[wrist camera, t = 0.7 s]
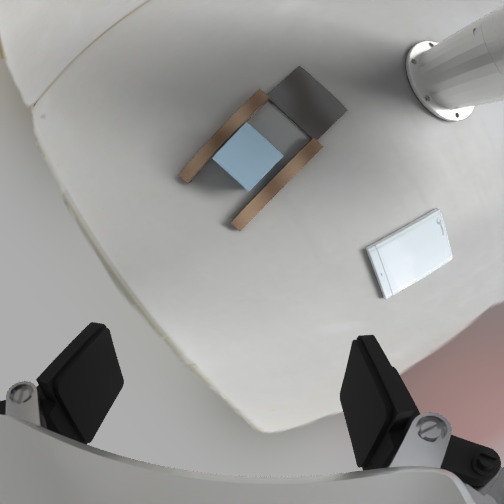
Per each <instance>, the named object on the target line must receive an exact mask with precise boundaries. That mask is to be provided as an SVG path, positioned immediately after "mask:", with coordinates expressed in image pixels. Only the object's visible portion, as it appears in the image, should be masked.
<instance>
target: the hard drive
mask: <svg viewBox="0 0 504 504" xmlns="http://www.w3.org/2000/svg"><path fill="white" fill-rule="evenodd" d="M366 251H367V253H368V256H369V259H370V261H371V264H372V266H373V269H374V272H375V275H376V277H377V280H378V283H379V286H380V288H381V291H382V294H383V297H384V299H388V298H389V297H391V296H393V295H395V294H397V293H398V292H400V291H402V290H404V289H405V288H407V287H409V286H410V285H412V284H414V283H416V282H417V281H419V280H421V279H422V278H424V277H425V276H427V275H429V274H430V273H432V272H433V271H435V270H437V269H438V268H440V267H441V266H443V265H445V264H446V263H448V262H449V261H451V260H452V253H451V248H450V244H449V240H448V236H447V232H446V229H445V225H444V221H443V218H442V214H441V211H440V210H439V209H438V208H436V209H434V210H432V211H431V212H429V213H427V214H425V215H424V216H422V217H420V218H418V219H417V220H415V221H413V222H411V223H410V224H408V225H406V226H404V227H403V228H401V229H399V230H397V231H395V232H394V233H392V234H390V235H388V236H386V237H385V238H383V239H381V240H379V241H377V242H376V243H374V244H372V245H370V246H368V247H366Z"/></svg>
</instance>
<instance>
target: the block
mask: <svg viewBox="0 0 504 504" xmlns="http://www.w3.org/2000/svg"><path fill="white" fill-rule="evenodd" d="M283 156H284V155H283V154H282V153H281V152H279V151H278V150H277V149H276V148H275V147H274V146H273V145H272V144H271V143H270V142H269V141H268V140H266V139H265V138H264V137H263V136H262V135H261V134H260V133H259V132H258V131H256V130H255V129H254V128H253V127H252V126H251V125H250V124H248V123H247V122H246V123H245V124H244V125H243V126H242V127H241V128H240V129H239V130H238V131H237V132H236V133H235V134H234V135H233V136H232V137H231V139H230V140H229V141H228V142H227V143H226V144H225V145H224V146H223V147H222V148H221V149H220V150H219V151H218V152H217V153H216V154H215V156H214V157H213V158H212V159H213V160H214V161H216V162H217V163H218V164H219V165H220V166H221V167H222V168H223V169H224V170H226V171H227V172H228V173H229V174H230V175H231V176H232V177H233V178H234V179H235V180H237V181H238V182H239V183H240V184H241V185H242V186H243V187H244V188H245V189H246V190H247V191H248V192H249V191H250V190H251V189H252V188H253V187H254V186H255V185H256V184H257V183H258V182H259V181H260V180H261V179H262V178H263V177H264V176H265V175H266V174H267V173H268V172H269V171H270V170H271V169H272V167H273V166H274V165H275V164H276V163H277V162H278V161H279V160H280V159H281V158H282V157H283Z"/></svg>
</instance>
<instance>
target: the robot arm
mask: <svg viewBox="0 0 504 504" xmlns="http://www.w3.org/2000/svg"><path fill="white" fill-rule="evenodd" d="M406 70H407V75H408V79H409V82H410V84H411V86H412V89H413V91H414V92H415V94H416V96H417V97H418V99H419V100H420V101H421V103H422V104H423V105H424V106H425V107H426V108H427V109H428V110H429V111H430V112H432V113H433V114H434V115H436V116H437V117H439V118H441V119H444V120H447V121H460V120H463V119H465V118H466V117H468V116H469V115H470V113H471V112H472V110H473V107H474V106H477V105H482V104H487V103H492V102H497V101H503V100H504V5H503V6H501V7H500V8H498V9H496V10H495V11H493V12H491V13H489V14H487V15H485V16H484V17H482V18H481V19H479V20H477V21H475V22H473V23H472V24H470V25H468V26H466V27H465V28H463V29H461V30H460V31H458V32H456V33H455V34H453V35H451V36H450V37H448V38H446V39H445V40H443V41H441V42H440V43H437V42H433V41H422V42H419V43H418V44H416V45H414V46H413V47H412V48H411V49H410V51H409V53H408V55H407V59H406ZM37 382H38V384H39V385H38V386H37V387H36V386H35V385H34V384H33V383H31V382H27V381H24V382H19V383H16V384H14V385H13V386H12V387H11V388H9V390H8V392H7V395H6V400H4V401H0V504H504V467H503V468H502V467H501V461H500V457H499V456H498V454H497V453H496V452H495V451H494V450H493V449H490V448H488V447H485V446H482V445H479V444H476V443H473V442H470V441H467V440H464V439H462V438H458V437H456V436H453V435H451V431H452V429H451V425H450V423H449V421H448V420H447V419H446V418H445V417H443V416H442V415H439V414H437V413H431V412H429V413H423V414H420V413H419V411H418V409H417V407H416V405H415V403H414V401H413V399H412V397H411V395H410V393H409V392H408V390H407V388H406V386H405V384H404V383H403V381H402V379H401V377H400V375H399V373H398V372H397V370H396V369H395V368H394V367H392V366H391V364H390V362H389V361H388V359H387V357H386V355H385V354H384V352H383V350H382V348H381V347H380V345H379V343H378V341H377V340H376V338H375V336H374V335H364V336H358V338H357V340H353V342H352V346H351V350H350V355H349V359H348V363H347V368H346V372H345V376H344V380H343V384H342V387H341V391H340V401H341V405H342V408H343V412H344V416H345V419H346V423H347V427H348V431H349V435H350V438H351V442H352V446H353V450H354V454H355V458H356V462H357V466H358V467H362V468H363V471H356V472H349V473H340V474H330V475H317V476H301V477H247V476H231V475H219V474H209V473H202V472H194V471H187V470H181V469H175V468H170V467H165V466H160V465H156V464H151V463H146V462H142V461H138V460H134V459H131V458H127V457H123V456H120V455H116V454H113V453H110V452H107V451H103V450H100V449H97V448H94V447H92V446H89V445H87V443H90V442H91V441H92V439H93V438H94V436H95V434H96V432H97V430H98V429H99V427H100V425H101V423H102V422H103V420H104V418H105V416H106V415H107V413H108V411H109V409H110V408H111V406H112V404H113V402H114V401H115V399H116V397H117V395H118V394H119V392H120V390H121V389H122V387H123V384H124V380H123V376H122V373H121V370H120V366H119V363H118V360H117V356H116V353H115V349H114V345H113V342H112V338H111V334H110V330H109V329H108V328H106V326H105V325H104V324H100V323H93V322H92V323H90V324H89V325H88V326H87V327H86V328H85V329H84V330H83V331H82V332H81V333H80V334H79V335H78V336H77V337H76V338H75V339H74V340H73V341H72V342H71V343H70V344H69V345H68V346H67V347H66V348H65V349H64V350H63V351H62V353H61V354H59V356H58V357H57V358H56V359H55V360H54V361H53V362H52V363H51V364H50V365H49V366H48V367H47V368H46V369H45V371H44V372H43V373H42V374H41V375H40V376H39V377H38V378H37Z"/></svg>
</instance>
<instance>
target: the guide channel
mask: <svg viewBox="0 0 504 504" xmlns="http://www.w3.org/2000/svg"><path fill="white" fill-rule="evenodd" d="M268 100H270V101H271V102H273V103H274V104H275V105H276V106H277V107H278V108H279V109H281V110H282V111H283V112H284V113H285V114H286V115H287V116H288V117H289V118H291V119H292V120H293V121H294V122H295V123H296V124H297V125H298V126H299V127H300V128H301V129H302V130H303V131H304V132H306V133H307V134H308V135H309V136H310V137H311V138H312V139H311V140H310V141H309V142H308V143H307V144H306V145H305V146H304V147H303V148H302V149H301V150H300V151H299V152H298V153H297V154H296V155H295V156H294V157H293V158H292V159H291V160H290V161H289V162H288V163H287V164H286V165H285V166H284V167H283V168H282V169H281V170H280V171H279V172H278V173H277V174H276V175H275V176H274V177H273V179H272V180H271V181H270V182H269V183H268V184H267V185H266V186H265V187H264V188H263V189H262V190H261V191H260V192H259V193H258V194H257V195H256V196H255V197H254V198H253V199H252V200H251V201H250V202H249V203H248V204H247V206H246V207H245V208H244V209H243V210H242V211H241V212H240V213H239V214H238V215H237V216H236V217H235V218H234V219H233V220H232V222H231V224H232V225H233V226H234V227H236V228H237V229H238V230H239V231H241V230H242V229H243V228H244V227H245V226H246V225H247V224H248V223H249V222H250V221H251V220H252V219H253V217H254V216H255V215H256V214H257V213H258V212H259V211H260V210H261V209H262V208H263V207H264V206H265V205H266V204H267V203H268V202H269V201H270V200H271V199H272V198H273V197H274V196H275V195H276V194H277V193H278V192H279V191H280V190H281V189H282V188H283V187H284V186H285V185H286V184H287V182H288V181H289V180H290V179H291V178H292V177H293V176H294V175H295V174H296V173H297V172H298V171H299V170H300V169H301V168H302V167H303V166H304V165H305V164H306V163H307V162H308V161H309V160H310V159H311V158H312V157H313V156H314V155H315V154H316V153H317V152H318V151H319V150H320V149H321V148H322V147H323V146H322V145H321V144H320V143H319V142H318V141H317V139H318V138H319V137H320V136H321V135H322V134H323V133H324V132H325V131H327V130H328V129H329V128H330V127H331V126H332V125H333V124H334V123H335V122H336V121H337V120H338V119H339V118H340V117H341V116H342V115H343V114H344V113H345V112H346V111H347V109H346V108H345V107H344V106H343V105H342V104H341V103H340V102H339V101H338V100H337V99H336V98H335V97H334V96H333V95H332V94H331V93H330V92H329V91H328V90H326V89H325V88H324V87H323V86H322V85H321V84H320V83H319V82H318V81H317V80H315V79H314V78H313V77H312V76H311V75H310V74H309V73H307V72H306V71H305V70H304V69H303V68H301V67H300V66H299V67H298V68H297V69H296V70H294V71H293V72H292V73H291V74H290V75H289V76H288V77H286V78H285V79H284V80H283V81H282V82H281V83H280V84H279V85H278V86H277V87H275V88H274V89H273V90H272V91H271V92H270V93H269V94H268V95H266V94H265V93H264V92H263V91H262V90H260V89H259V90H258V91H257V92H256V93H255V94H254V95H253V96H252V97H251V98H250V99H249V100H248V101H247V102H246V103H245V104H244V105H243V106H242V107H241V108H240V109H239V110H238V111H237V112H236V113H235V114H234V115H233V116H232V117H231V118H230V119H229V120H228V121H227V122H226V123H225V124H224V125H223V126H222V127H221V128H220V129H219V130H218V131H217V132H216V133H215V134H214V135H213V136H212V138H211V139H210V140H209V141H208V142H207V143H206V144H205V145H204V146H203V147H202V148H201V150H200V151H199V152H198V153H197V154H196V155H195V156H194V157H193V158H192V160H191V161H190V162H189V163H188V164H187V165H186V166H185V168H184V169H183V170H182V171H181V172H180V173H179V176H180V177H181V178H182V179H183V180H184V181H185V182H186V183H190V182H191V181H192V180H193V178H194V177H195V176H196V175H197V174H198V173H199V172H200V170H201V169H202V168H203V167H204V166H205V165H206V164H207V163H208V162H209V160H210V159H211V158H212V157H213V156H214V155H215V154H216V153H217V152H218V151H219V150H220V149H221V147H222V146H223V145H224V144H225V143H226V142H227V141H228V140H229V139H230V138H231V137H232V136H233V135H234V134H235V133H236V132H237V131H238V130H239V129H240V128H241V127H242V126H243V125H244V124H245V123H246V122H247V121H248V120H249V119H250V118H251V117H252V116H253V115H254V114H255V113H256V112H257V111H258V110H259V109H260V108H261V107H262V106H263V105H264V104H265V103H266V102H267V101H268Z"/></svg>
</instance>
